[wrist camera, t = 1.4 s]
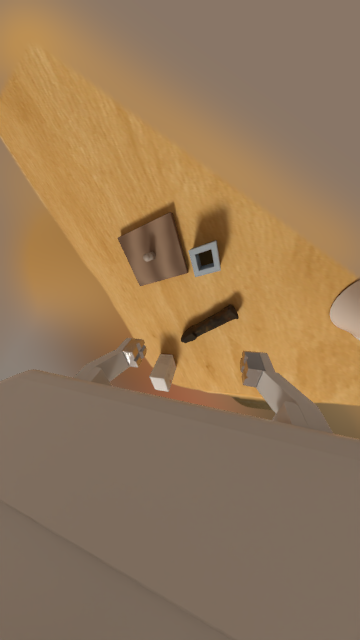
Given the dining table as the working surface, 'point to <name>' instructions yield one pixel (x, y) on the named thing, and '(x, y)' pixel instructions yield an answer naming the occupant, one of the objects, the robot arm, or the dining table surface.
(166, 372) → the small box
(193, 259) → the collar
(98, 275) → the dining table surface
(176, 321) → the dining table surface
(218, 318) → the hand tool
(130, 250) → the mounting plate
